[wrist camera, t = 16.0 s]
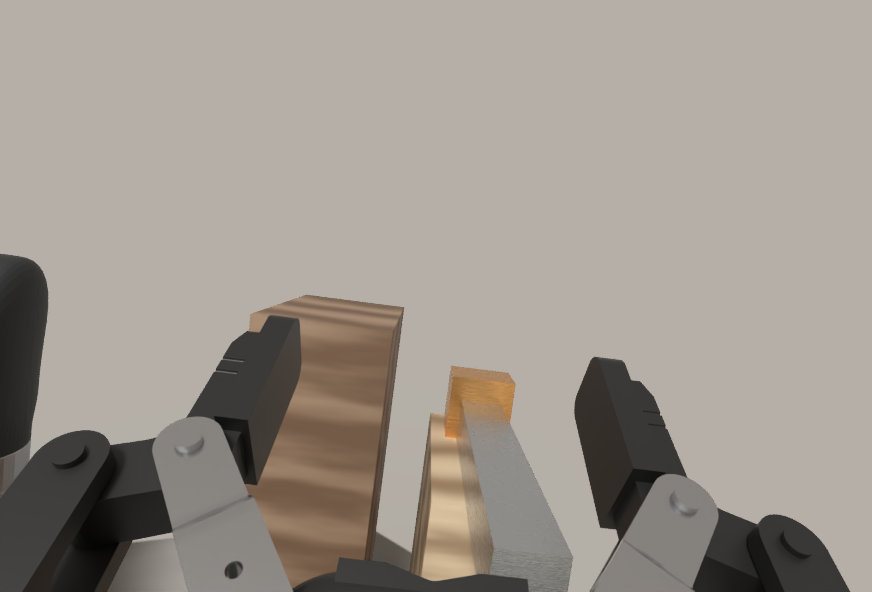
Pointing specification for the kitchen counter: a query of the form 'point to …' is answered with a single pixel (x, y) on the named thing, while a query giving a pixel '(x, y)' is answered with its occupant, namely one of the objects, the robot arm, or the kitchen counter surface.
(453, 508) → the beige slab
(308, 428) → the walnut stand
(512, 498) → the steel pin
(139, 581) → the kitchen counter surface
